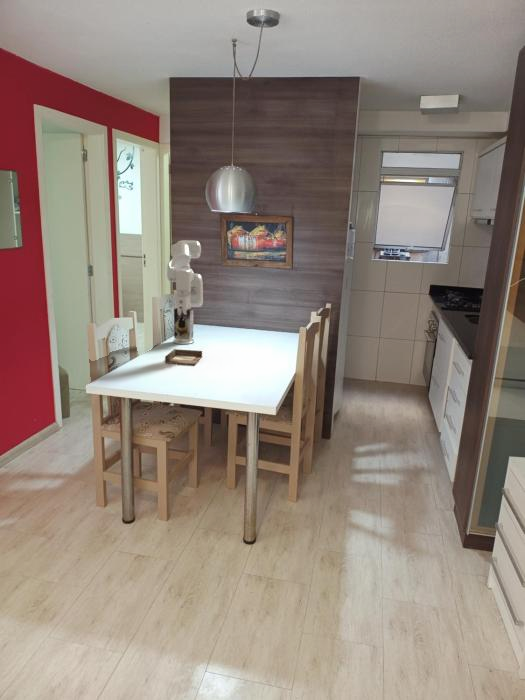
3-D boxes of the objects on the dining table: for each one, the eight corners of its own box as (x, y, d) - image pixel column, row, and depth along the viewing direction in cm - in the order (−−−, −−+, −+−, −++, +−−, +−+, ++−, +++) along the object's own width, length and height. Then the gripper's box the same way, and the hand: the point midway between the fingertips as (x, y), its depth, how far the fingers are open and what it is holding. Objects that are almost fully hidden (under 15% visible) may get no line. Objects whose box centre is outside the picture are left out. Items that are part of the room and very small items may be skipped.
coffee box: (173, 338, 282) (173, 309, 278) (178, 336, 288) (177, 307, 284) (190, 339, 280) (189, 309, 276) (193, 337, 286) (193, 308, 282)
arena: (174, 356, 294) (174, 349, 293) (202, 357, 292) (202, 350, 291) (165, 363, 279) (165, 356, 278) (194, 365, 277) (194, 358, 276)
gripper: (185, 295, 269) (186, 329, 274) (194, 291, 286) (194, 323, 290) (171, 294, 270) (172, 329, 275) (181, 290, 287) (181, 323, 291)
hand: (183, 325), depth 282 cm, fingers closed on coffee box, 6 cm apart
